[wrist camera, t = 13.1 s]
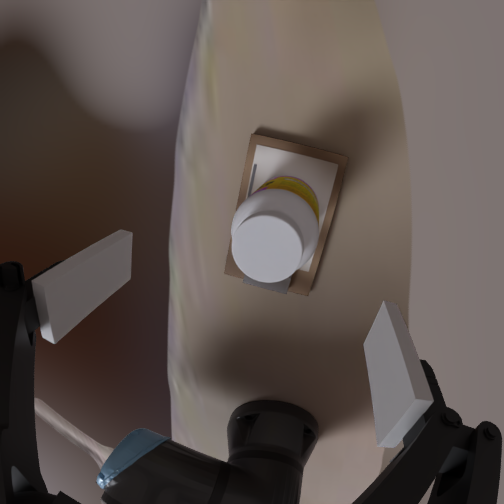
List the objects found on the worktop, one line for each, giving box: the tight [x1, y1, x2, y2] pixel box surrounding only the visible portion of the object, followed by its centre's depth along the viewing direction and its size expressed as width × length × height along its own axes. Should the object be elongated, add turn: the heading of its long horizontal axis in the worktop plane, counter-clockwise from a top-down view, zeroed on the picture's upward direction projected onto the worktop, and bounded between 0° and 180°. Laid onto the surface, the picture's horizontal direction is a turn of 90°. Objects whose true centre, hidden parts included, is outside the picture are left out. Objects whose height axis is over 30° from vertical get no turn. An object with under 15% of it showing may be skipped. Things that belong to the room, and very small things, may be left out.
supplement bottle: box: [231, 175, 319, 283], centre depth 26 cm, size 7×7×13 cm
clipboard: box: [224, 134, 348, 296], centre depth 32 cm, size 16×10×2 cm, turn 168°
